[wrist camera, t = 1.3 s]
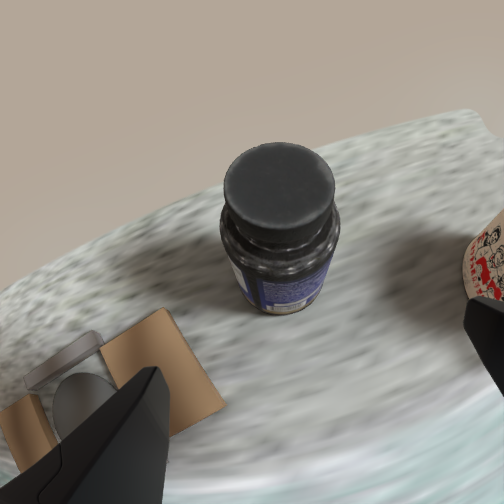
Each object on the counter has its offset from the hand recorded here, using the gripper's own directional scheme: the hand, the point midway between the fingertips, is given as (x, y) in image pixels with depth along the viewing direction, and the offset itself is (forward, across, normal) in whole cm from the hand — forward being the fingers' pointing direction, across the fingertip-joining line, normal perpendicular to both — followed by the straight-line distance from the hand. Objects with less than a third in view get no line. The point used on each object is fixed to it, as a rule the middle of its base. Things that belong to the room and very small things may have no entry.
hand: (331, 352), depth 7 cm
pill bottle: (+14, 0, +4) cm, 15 cm away
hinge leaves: (+8, +16, +11) cm, 21 cm away
